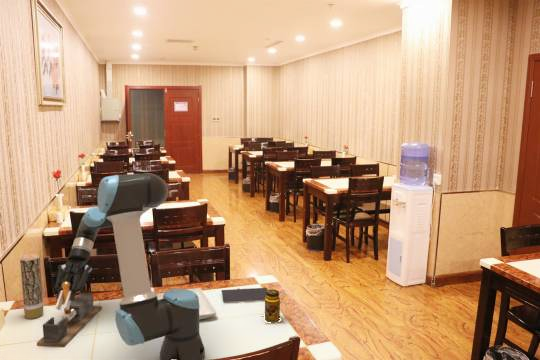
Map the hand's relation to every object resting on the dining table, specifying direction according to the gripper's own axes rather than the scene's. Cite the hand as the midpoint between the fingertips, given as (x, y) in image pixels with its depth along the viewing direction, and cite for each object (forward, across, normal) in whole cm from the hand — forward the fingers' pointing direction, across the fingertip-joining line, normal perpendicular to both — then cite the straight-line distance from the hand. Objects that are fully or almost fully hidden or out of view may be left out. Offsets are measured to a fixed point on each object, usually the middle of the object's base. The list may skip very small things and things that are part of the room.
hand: (61, 308), depth 164 cm
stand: (+2, 0, -12) cm, 12 cm away
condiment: (-6, -77, -22) cm, 80 cm away
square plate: (-8, -37, -24) cm, 44 cm away
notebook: (-20, -64, -36) cm, 76 cm away
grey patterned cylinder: (-2, +19, -17) cm, 26 cm away
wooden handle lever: (-3, 0, -13) cm, 13 cm away
